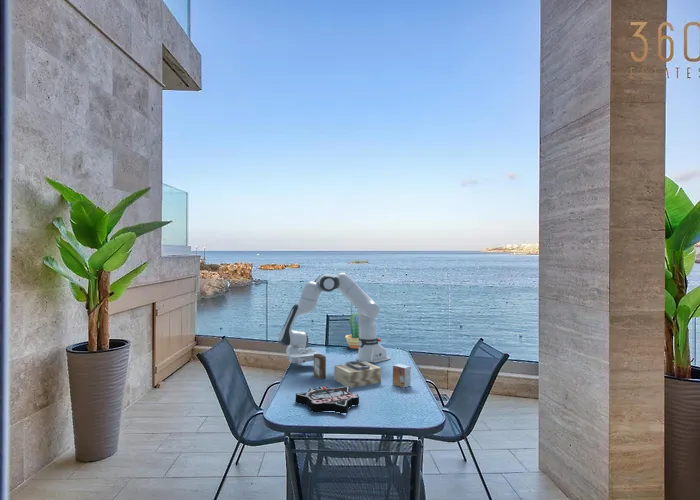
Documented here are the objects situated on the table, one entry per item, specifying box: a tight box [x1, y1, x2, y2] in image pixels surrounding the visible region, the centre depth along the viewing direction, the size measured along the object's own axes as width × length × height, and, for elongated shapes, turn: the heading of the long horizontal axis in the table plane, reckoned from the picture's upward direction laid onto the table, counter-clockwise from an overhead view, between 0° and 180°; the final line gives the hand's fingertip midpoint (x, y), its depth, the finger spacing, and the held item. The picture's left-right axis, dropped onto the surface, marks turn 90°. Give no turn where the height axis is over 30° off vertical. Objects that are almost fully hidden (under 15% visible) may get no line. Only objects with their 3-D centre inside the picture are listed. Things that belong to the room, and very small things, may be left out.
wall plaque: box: [295, 385, 360, 414], centre depth 202 cm, size 28×4×30 cm
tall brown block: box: [313, 353, 327, 380], centre depth 245 cm, size 4×8×12 cm, turn 31°
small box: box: [392, 363, 412, 389], centre depth 231 cm, size 8×6×10 cm
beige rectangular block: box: [333, 360, 382, 389], centre depth 237 cm, size 20×16×10 cm
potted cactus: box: [344, 312, 359, 350], centre depth 322 cm, size 15×15×25 cm
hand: (310, 360), depth 255 cm, fingers open, 8 cm apart
